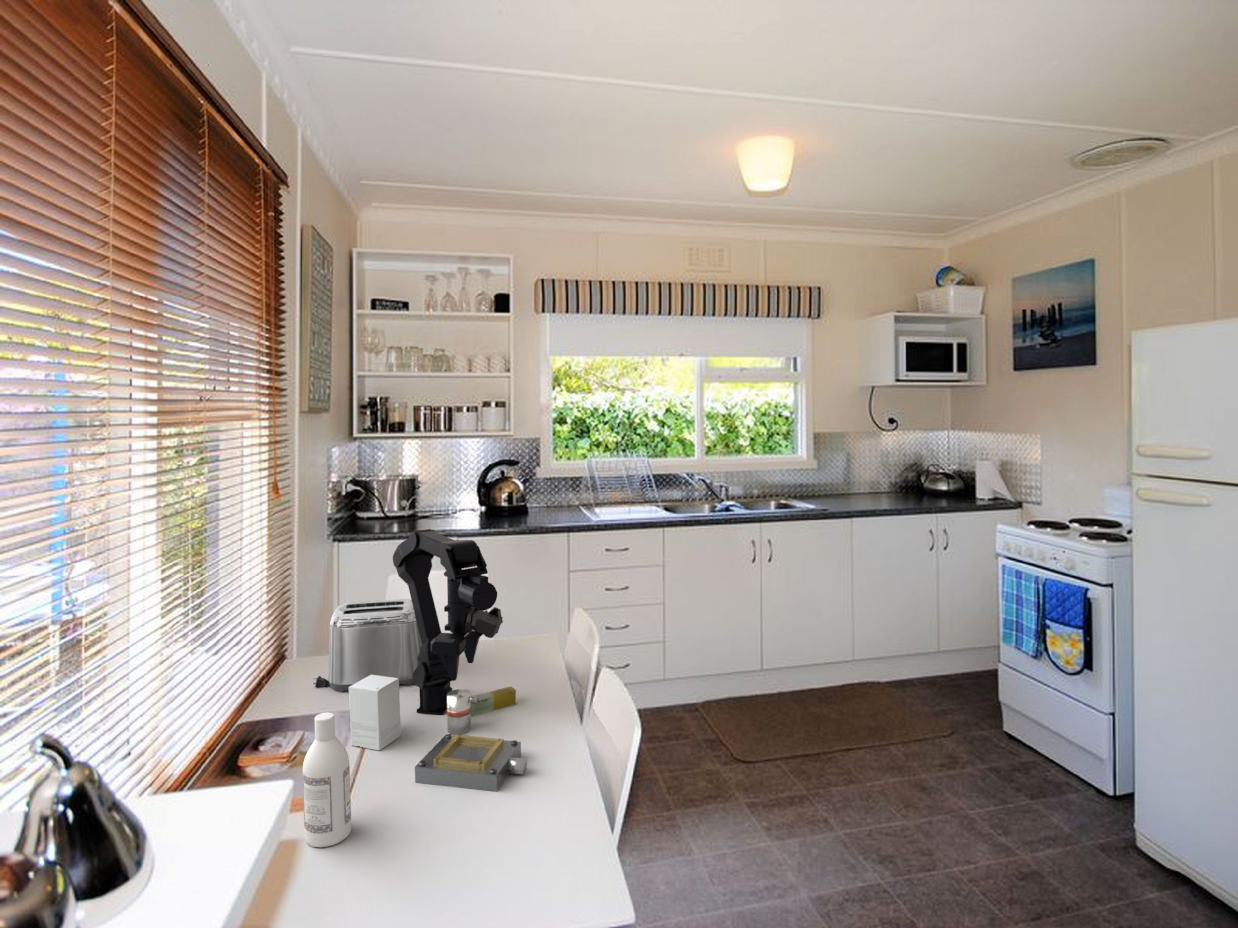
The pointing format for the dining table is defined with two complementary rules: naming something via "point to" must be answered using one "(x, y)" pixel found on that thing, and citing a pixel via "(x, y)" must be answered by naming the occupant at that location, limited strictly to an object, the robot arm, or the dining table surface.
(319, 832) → the bath foam
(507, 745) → the grey fixture base
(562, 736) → the dining table surface
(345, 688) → the toaster
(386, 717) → the supplement box
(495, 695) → the medication box
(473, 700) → the spout can
